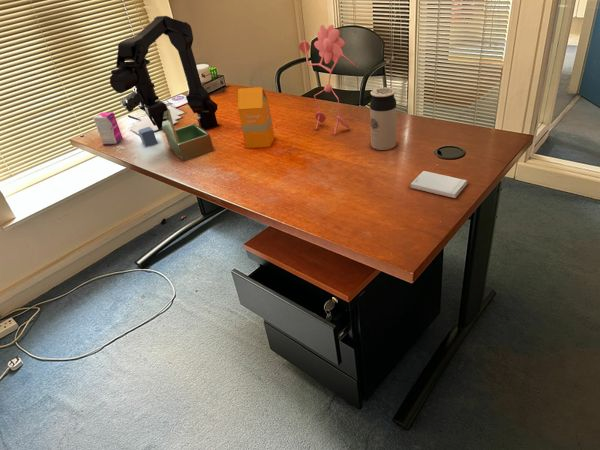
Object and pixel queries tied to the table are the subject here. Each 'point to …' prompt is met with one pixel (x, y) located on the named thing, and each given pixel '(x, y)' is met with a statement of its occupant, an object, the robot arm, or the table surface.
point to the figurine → (327, 61)
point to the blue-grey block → (147, 136)
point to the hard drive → (439, 184)
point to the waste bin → (190, 142)
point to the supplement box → (108, 128)
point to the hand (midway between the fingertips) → (157, 127)
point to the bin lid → (169, 126)
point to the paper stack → (147, 123)
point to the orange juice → (255, 117)
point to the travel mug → (383, 118)
